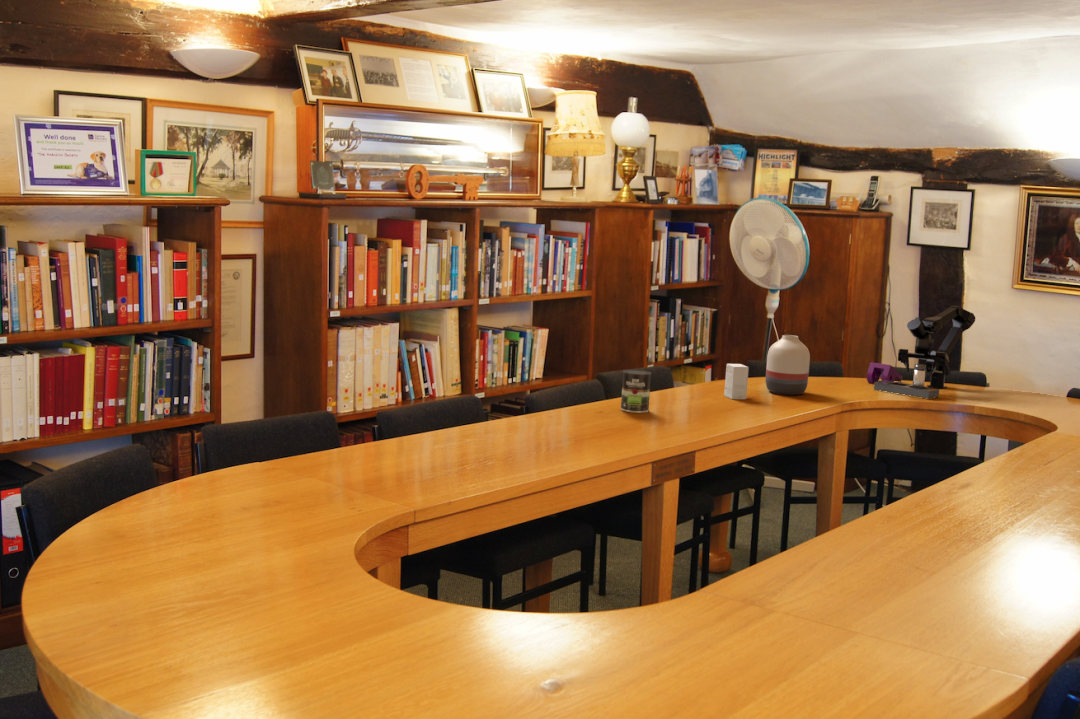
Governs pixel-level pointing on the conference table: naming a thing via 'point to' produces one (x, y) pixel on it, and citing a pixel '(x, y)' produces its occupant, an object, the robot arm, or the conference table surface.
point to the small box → (736, 381)
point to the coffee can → (635, 391)
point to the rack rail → (906, 389)
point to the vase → (787, 366)
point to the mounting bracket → (882, 373)
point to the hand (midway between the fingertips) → (919, 372)
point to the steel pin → (919, 376)
